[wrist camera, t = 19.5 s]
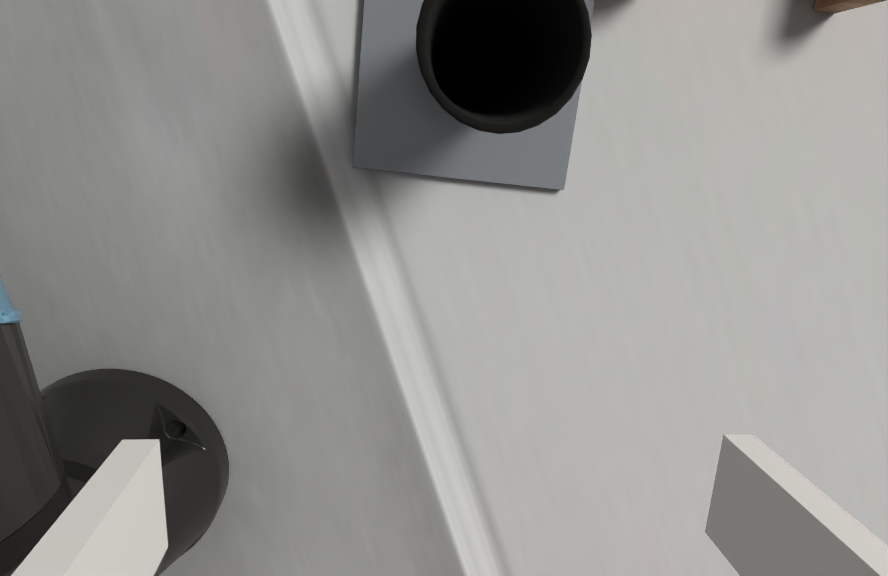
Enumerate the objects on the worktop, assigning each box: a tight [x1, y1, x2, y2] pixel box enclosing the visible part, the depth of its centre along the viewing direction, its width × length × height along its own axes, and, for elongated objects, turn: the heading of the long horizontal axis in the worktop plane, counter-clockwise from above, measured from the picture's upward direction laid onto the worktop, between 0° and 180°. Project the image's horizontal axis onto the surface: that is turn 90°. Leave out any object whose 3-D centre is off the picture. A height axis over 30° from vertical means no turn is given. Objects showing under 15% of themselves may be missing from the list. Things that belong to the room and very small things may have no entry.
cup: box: [416, 0, 592, 134], centre depth 31 cm, size 8×8×12 cm
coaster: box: [353, 0, 595, 190], centre depth 37 cm, size 14×14×1 cm
